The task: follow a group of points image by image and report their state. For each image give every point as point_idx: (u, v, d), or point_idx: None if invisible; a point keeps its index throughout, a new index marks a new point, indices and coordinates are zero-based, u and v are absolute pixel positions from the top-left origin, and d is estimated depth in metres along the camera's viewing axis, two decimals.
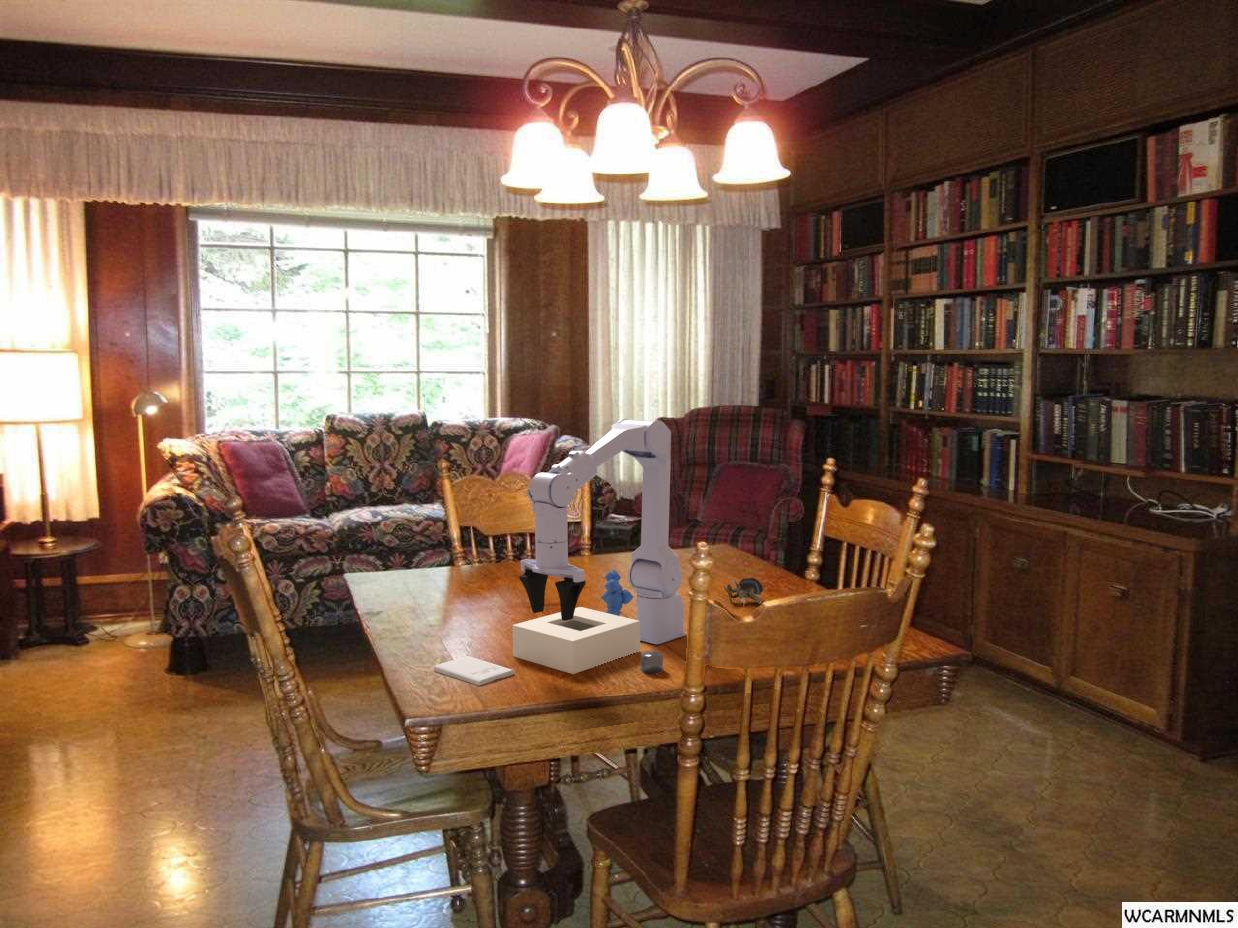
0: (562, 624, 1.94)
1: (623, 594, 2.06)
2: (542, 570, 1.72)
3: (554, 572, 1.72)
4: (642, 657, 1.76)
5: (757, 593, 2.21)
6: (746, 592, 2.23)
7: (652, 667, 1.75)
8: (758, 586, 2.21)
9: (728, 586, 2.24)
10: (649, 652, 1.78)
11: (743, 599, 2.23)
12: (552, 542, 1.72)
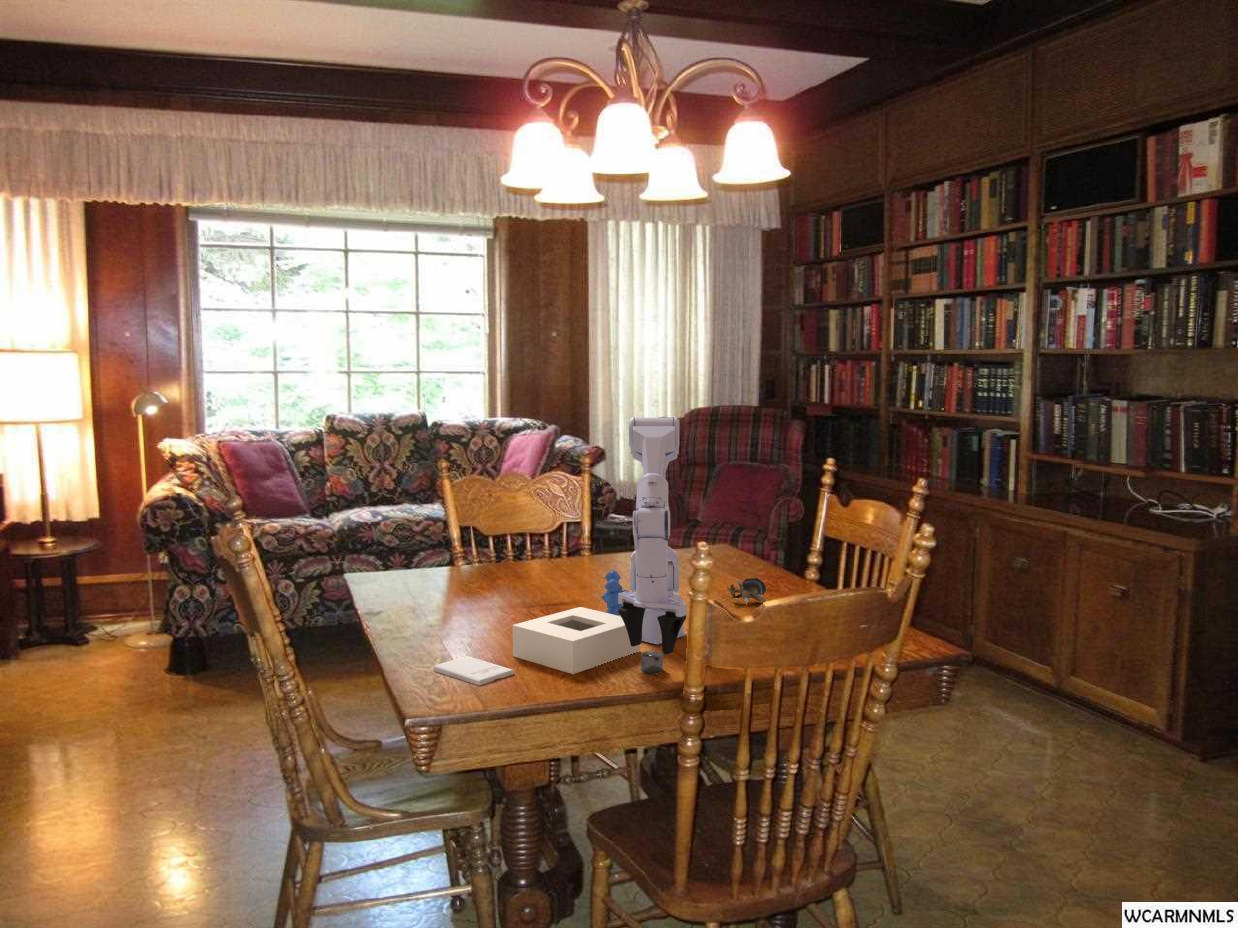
0: (562, 624, 1.94)
1: None
2: (644, 604, 1.73)
3: (656, 606, 1.73)
4: (642, 657, 1.76)
5: (760, 593, 2.20)
6: (749, 592, 2.23)
7: (652, 667, 1.75)
8: (761, 586, 2.20)
9: (731, 586, 2.24)
10: (649, 652, 1.78)
11: (746, 599, 2.23)
12: (654, 576, 1.73)
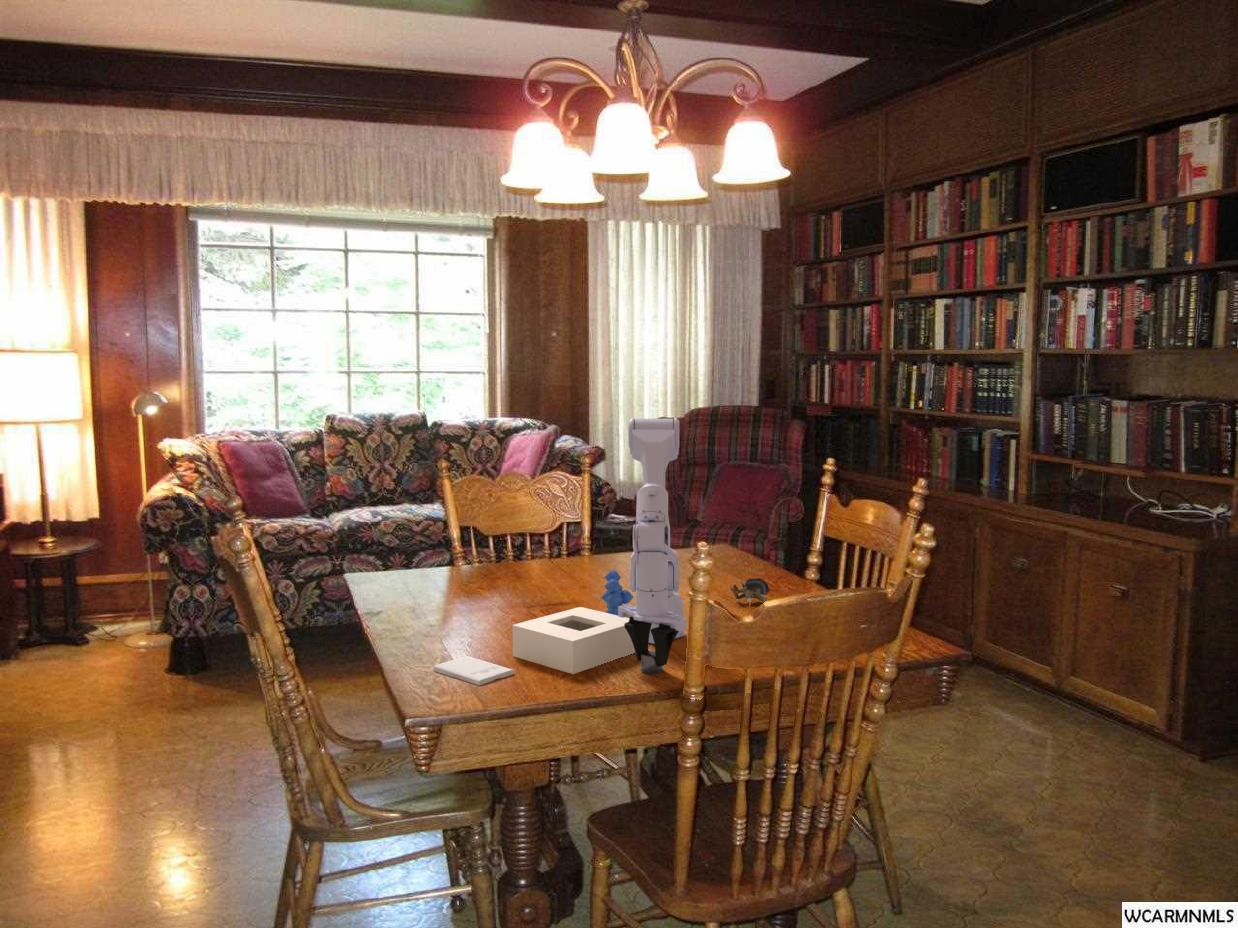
0: (562, 624, 1.94)
1: (623, 594, 2.06)
2: (644, 618, 1.73)
3: (656, 620, 1.73)
4: (642, 657, 1.76)
5: (763, 593, 2.20)
6: (752, 592, 2.23)
7: (652, 666, 1.75)
8: (764, 586, 2.20)
9: (734, 586, 2.24)
10: (649, 652, 1.78)
11: (749, 599, 2.23)
12: (654, 590, 1.73)
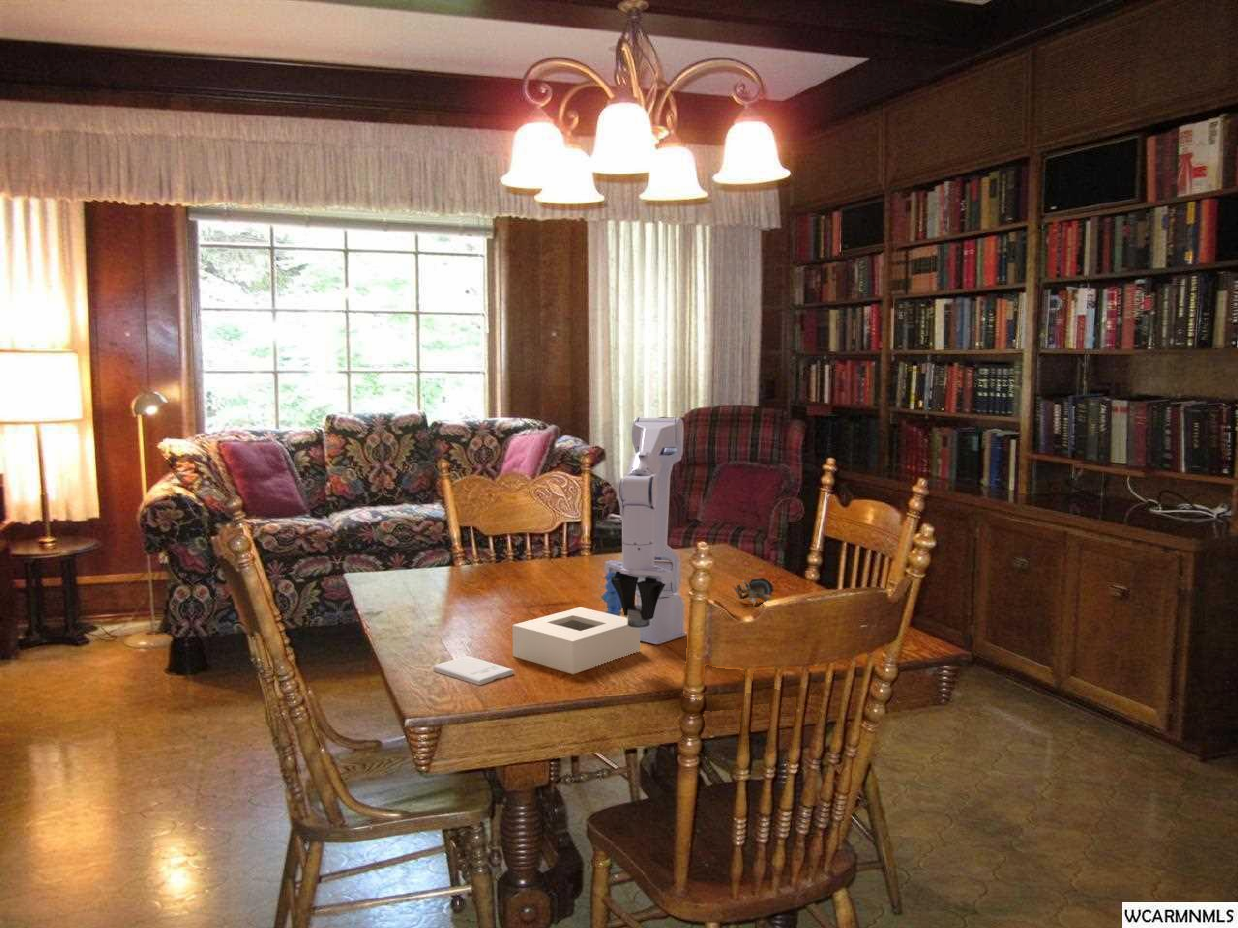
0: (562, 624, 1.94)
1: None
2: (630, 572, 1.74)
3: (642, 574, 1.74)
4: (628, 611, 1.77)
5: (767, 593, 2.20)
6: (756, 592, 2.23)
7: (638, 620, 1.76)
8: (768, 586, 2.20)
9: (738, 586, 2.24)
10: (635, 606, 1.79)
11: (753, 599, 2.22)
12: (640, 544, 1.74)
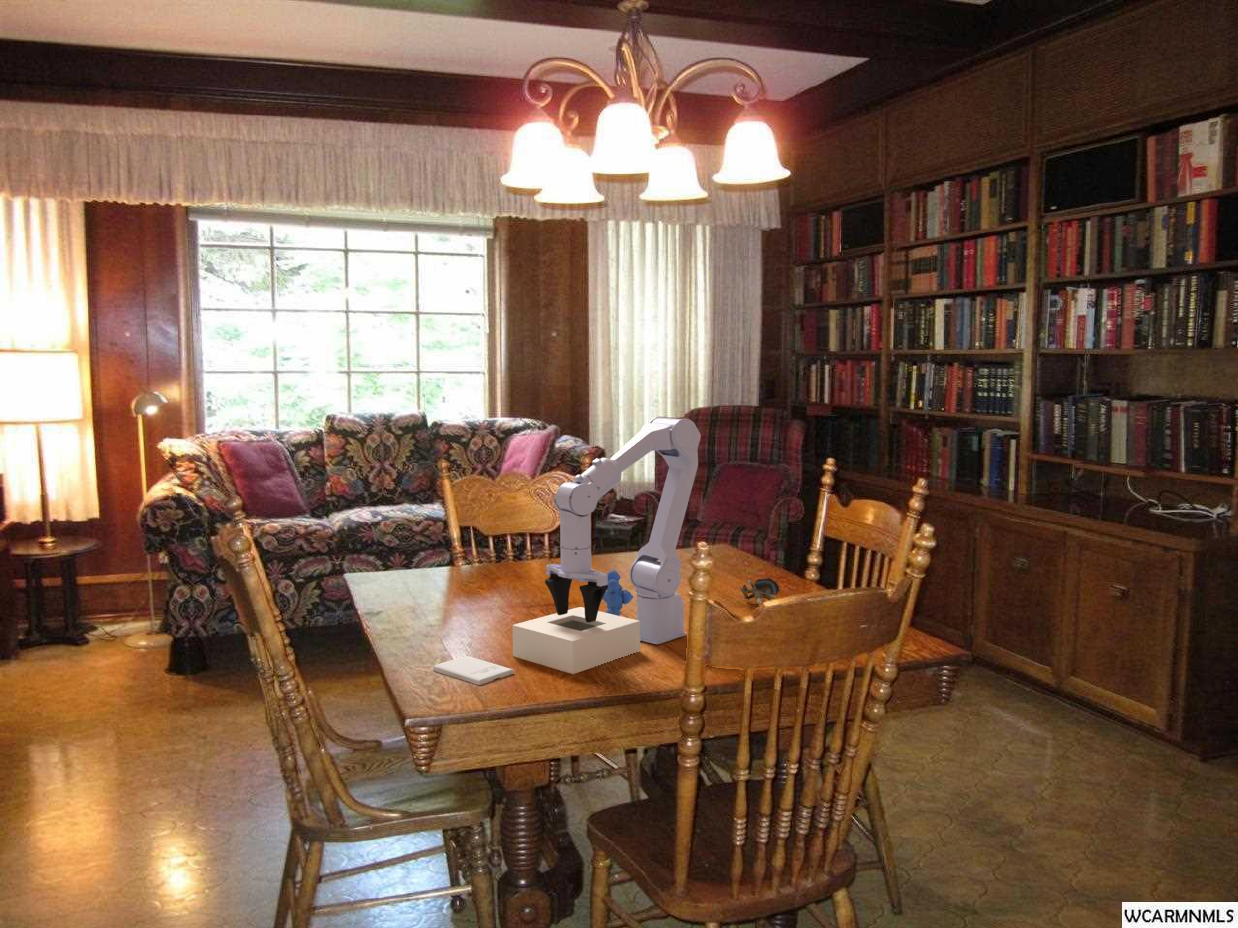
0: (562, 624, 1.94)
1: (623, 594, 2.06)
2: (567, 575, 1.83)
3: (578, 576, 1.82)
4: None
5: (773, 593, 2.20)
6: (762, 592, 2.23)
7: None
8: (774, 586, 2.20)
9: (744, 586, 2.24)
10: None
11: (759, 599, 2.22)
12: (577, 548, 1.83)
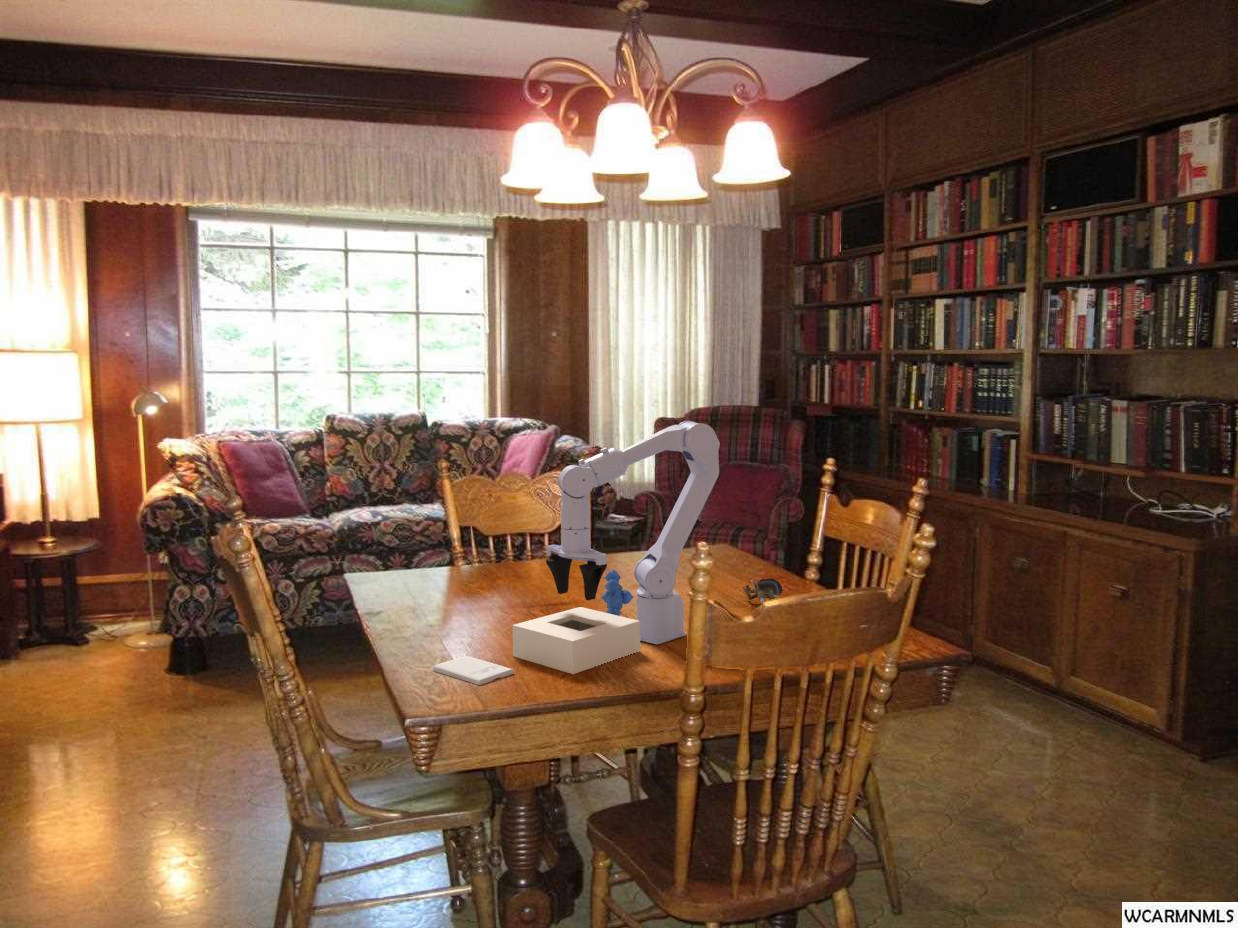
0: (562, 624, 1.94)
1: (623, 594, 2.06)
2: (567, 554, 1.89)
3: (578, 556, 1.89)
4: None
5: (776, 593, 2.20)
6: (765, 592, 2.23)
7: None
8: (777, 586, 2.20)
9: (747, 586, 2.24)
10: None
11: (762, 599, 2.22)
12: (576, 529, 1.89)
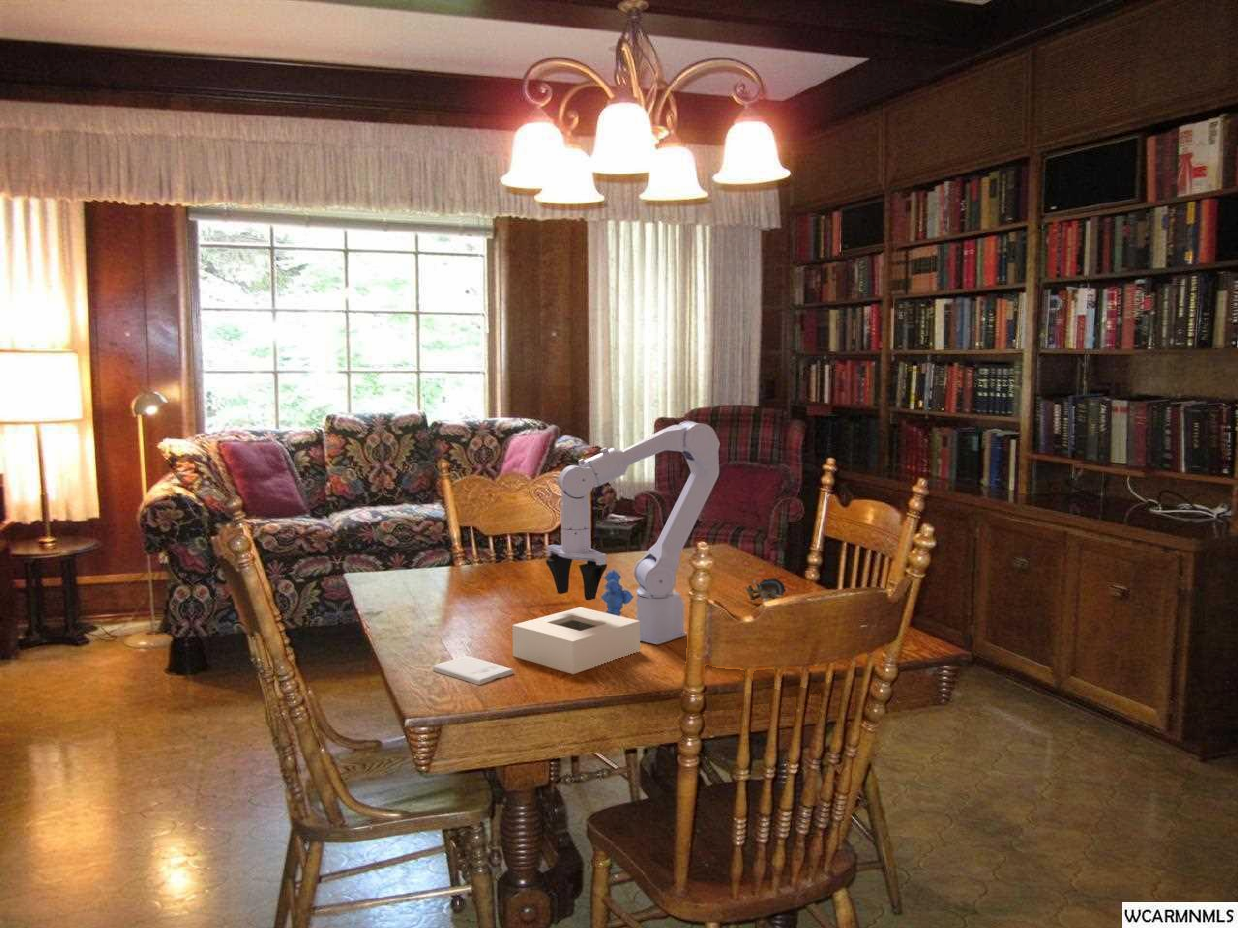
0: (562, 624, 1.94)
1: (623, 594, 2.06)
2: (567, 554, 1.89)
3: (578, 556, 1.89)
4: None
5: (779, 593, 2.20)
6: (768, 593, 2.22)
7: None
8: (780, 586, 2.20)
9: (749, 587, 2.24)
10: None
11: (765, 600, 2.22)
12: (576, 529, 1.89)
